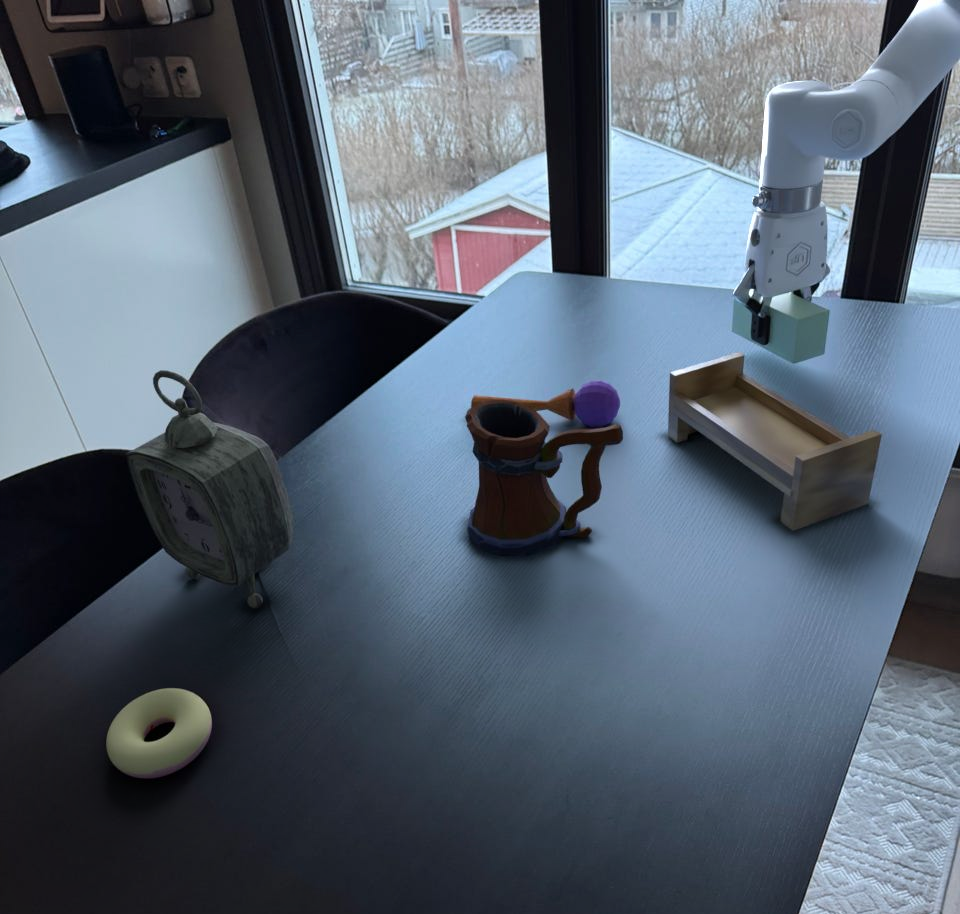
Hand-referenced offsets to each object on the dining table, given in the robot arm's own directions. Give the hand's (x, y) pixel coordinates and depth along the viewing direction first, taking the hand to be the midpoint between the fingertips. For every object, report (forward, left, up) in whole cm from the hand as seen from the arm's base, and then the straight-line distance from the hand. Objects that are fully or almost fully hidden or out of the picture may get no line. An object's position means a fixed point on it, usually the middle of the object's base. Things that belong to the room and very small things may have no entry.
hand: (777, 335), depth 127 cm
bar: (0, 0, -1) cm, 1 cm away
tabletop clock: (+79, +11, -5) cm, 80 cm away
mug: (+46, +21, -5) cm, 51 cm away
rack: (+18, +22, -4) cm, 29 cm away
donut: (+91, +33, -5) cm, 97 cm away
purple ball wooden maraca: (+34, -3, -5) cm, 35 cm away
